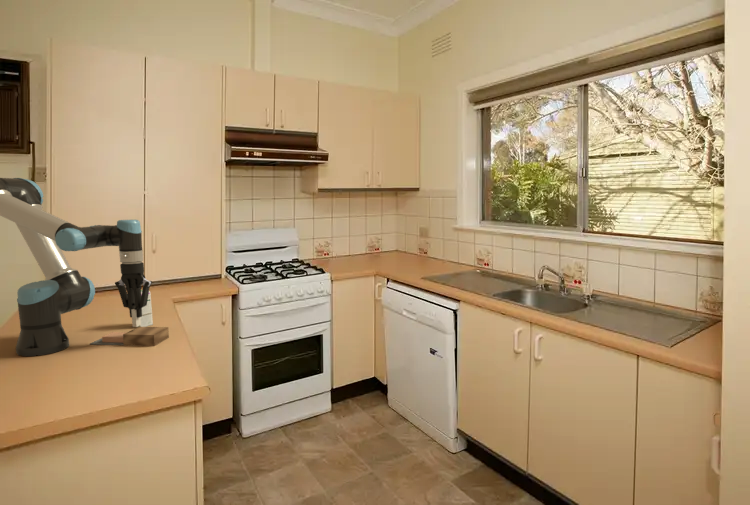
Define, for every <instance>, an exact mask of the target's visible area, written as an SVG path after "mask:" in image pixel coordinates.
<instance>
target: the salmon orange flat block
mask: <svg viewBox="0 0 750 505" xmlns="http://www.w3.org/2000/svg"><path fill="white" fill-rule="evenodd" d="M127 332H128V331H127ZM127 332H123V331H122V332H121V331H112V332H109V333H107V334H105V335H103V336H101V338H102V342H118V343H124V342H123V334H125V333H127Z"/></svg>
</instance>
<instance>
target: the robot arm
mask: <svg viewBox="0 0 750 505" xmlns="http://www.w3.org/2000/svg"><path fill="white" fill-rule="evenodd" d="M43 198H44V193H43V190H42V189H41V187H40V186H39V184H37V182H35V181H33V180H31V179H28V178H27V179H26V178H21V177H13V178H12V177H11V178H10V177H0V217H1V218H5V219H7V220H9V221H11V222H13V223H15V225H16V227H17V229H18V231H19V232H20V233H21V235H22V237H23V240H24V241H25V243H26V245H27V247H28V248H29V250H30V252H31V254H32V256H33V258H34V259H35V261H36V263H37V264H38V266H39V268H40V270H41V271H42V273H43V275H44V277H45V279H44V280H39V281H33V282H30V283H26V284H24V285H22V286H20V287H19V288H18V289H17V298H16V301H17V310H18V317H19V318H18V319H19V327H20V332H19V335H18V339H17V342H16V345H15V352H16V353H17V354H18V355H17V354H16V355H17V356H20V355H22V356H21V357H37V356H36V355H38V356H44V355H50V354H54V353H57V352H61V351H64V350H66V349H67V348H69V346H70V339H69V337H68V335H67V333H66V331H65V329H64V327H63V325H62V315H64V314H66V313H70V312H73V311H79V310H81V309H83V308H85V307H88V306H89V305H90V304H91V303H92V302H93V300H94V297H95V295H96V288H95V285H94V283H93V281H92V280H91V279H90V278H88V277H86V276H81V274H80V272H79V270H78V269H76V268H72V267H71V265H70V263H69V261H68V260H67V258H66V256H65V254H64V252H77V251H83V250H89V249H94V248H103V247H118V252H119V254H118V255H119V262H120V274H121V276H120V280H118V281H115V282H114V285H115V287H116V288H117V290H118V293H119V296H120V299H121V302H122V305H123V307H124V308H126V309H128V310H129V317H130V318H131V322H132V323H131V324H132V328H137V327H138V326H140V325H141V320H140V317H142V307H144V306H146V305H147V300H148V294H149V291H150V287H151V285H152V284H153V281H152V280H148V279H147V278H146V276H145V274H144V273H145V265H144V262H143V261H144V253H143V252H144V251H143V243H142V242H143V240H142V233H143V231H142V226H141V221H140V220H139V219H119V220H117V221H116V225H110V224H109V225H103V224H97V225H96V224H95V225H90V226H82V227H81V226H77V225H76V224H74V223H71V222H68V221H67V220H65V219H62V218H60V217H58V216H56V215H54V214H52V213H50V212H47V211H45V210H43V205H42V204H43V202H44V199H43ZM63 251H64V252H63ZM141 290H142V296H141Z"/></svg>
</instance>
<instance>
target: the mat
mask: <svg viewBox="0 0 750 505" xmlns="http://www.w3.org/2000/svg"><path fill="white" fill-rule="evenodd" d="M89 345H96V346H98V345H100V346H125V345H124V343H118V342H102V337H101V338H99V339H97V340H95V341H94V340H93V342H90V343H89Z"/></svg>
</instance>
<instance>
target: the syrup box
mask: <svg viewBox="0 0 750 505" xmlns="http://www.w3.org/2000/svg"><path fill="white" fill-rule="evenodd" d="M141 296H142V289H141ZM151 296H152V294H151V291H150V290H149V294H148V300H147V305H146V306H144V307H142V317H140V320H141V325H140V326H138V327H151V326H153V325H154V322H153V309H152V297H151Z"/></svg>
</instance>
